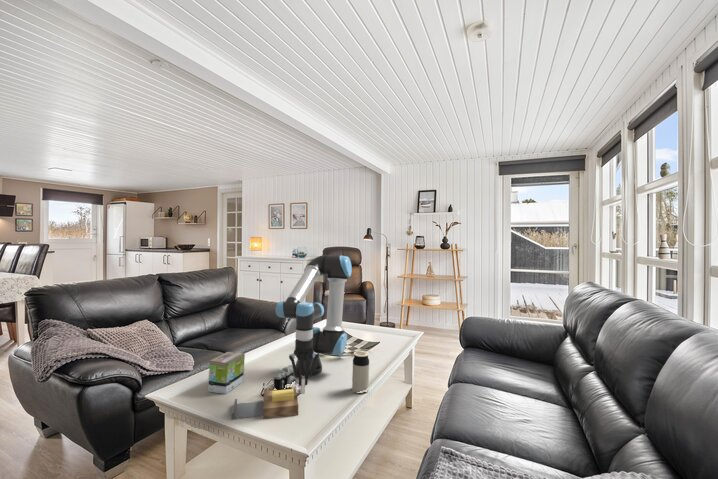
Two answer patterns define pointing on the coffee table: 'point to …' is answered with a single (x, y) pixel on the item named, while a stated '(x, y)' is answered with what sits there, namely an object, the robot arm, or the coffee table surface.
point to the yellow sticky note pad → (282, 395)
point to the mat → (247, 410)
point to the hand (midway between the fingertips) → (302, 392)
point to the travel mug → (360, 371)
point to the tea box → (226, 372)
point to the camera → (284, 378)
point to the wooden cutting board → (279, 406)
